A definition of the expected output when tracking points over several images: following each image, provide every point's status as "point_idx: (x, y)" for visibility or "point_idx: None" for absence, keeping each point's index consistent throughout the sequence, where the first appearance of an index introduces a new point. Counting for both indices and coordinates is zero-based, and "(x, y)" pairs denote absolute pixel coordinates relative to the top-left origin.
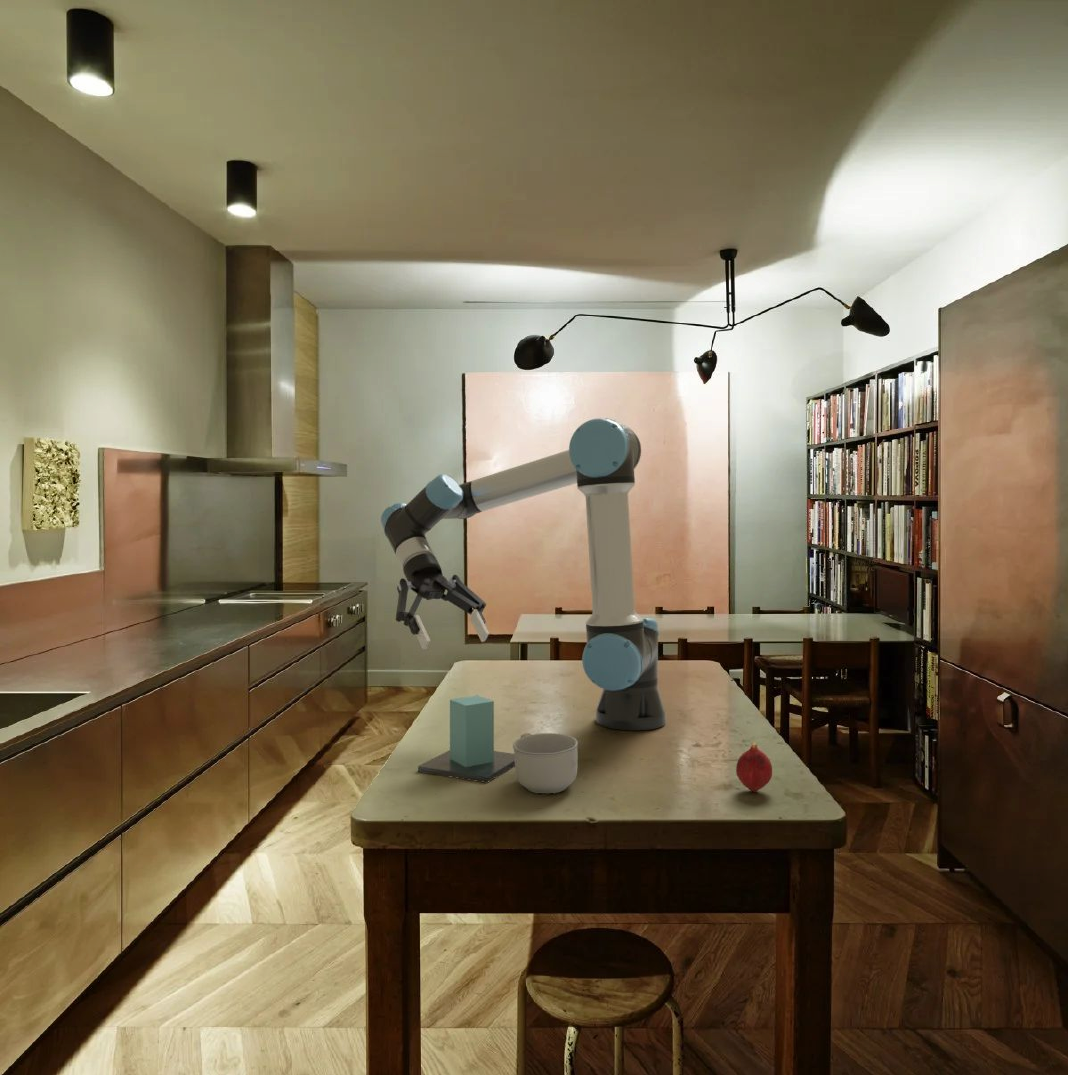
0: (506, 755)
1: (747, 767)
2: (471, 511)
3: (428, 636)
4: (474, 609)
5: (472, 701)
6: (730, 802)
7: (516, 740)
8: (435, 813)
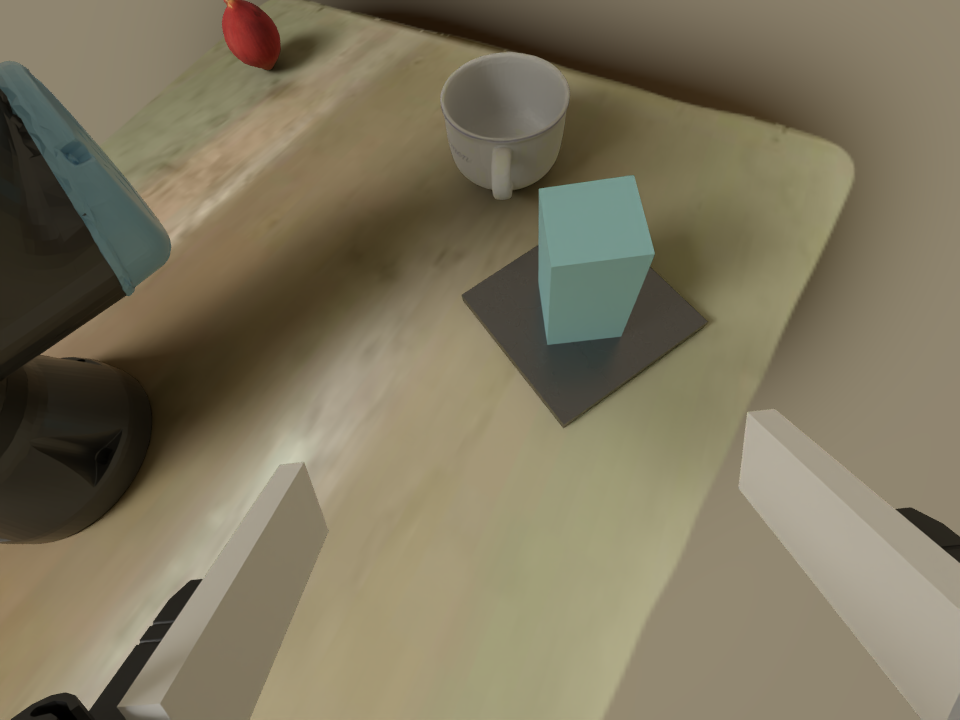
0: (494, 307)
1: (269, 18)
2: None
3: (770, 431)
4: (154, 700)
5: (597, 207)
6: (325, 52)
7: (545, 127)
8: (724, 135)
